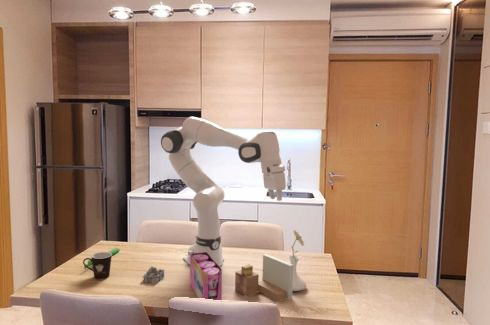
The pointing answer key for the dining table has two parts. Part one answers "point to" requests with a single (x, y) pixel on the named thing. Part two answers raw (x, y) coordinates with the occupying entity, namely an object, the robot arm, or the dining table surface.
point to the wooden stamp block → (246, 281)
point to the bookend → (276, 278)
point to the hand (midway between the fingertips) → (276, 199)
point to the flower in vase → (297, 281)
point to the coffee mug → (100, 264)
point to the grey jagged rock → (153, 275)
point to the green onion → (109, 252)
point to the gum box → (205, 276)
